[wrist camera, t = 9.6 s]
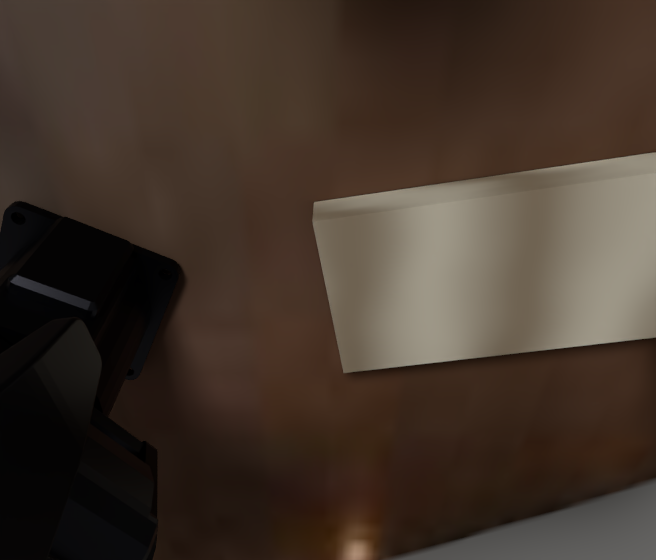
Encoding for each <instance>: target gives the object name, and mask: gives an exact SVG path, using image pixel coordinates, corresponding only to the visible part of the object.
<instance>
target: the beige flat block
mask: <svg viewBox="0 0 656 560" xmlns="http://www.w3.org/2000/svg"><path fill="white" fill-rule="evenodd" d="M312 222H313V227H314V232H315V237H316V242H317V246H318V251H319V256H320V261H321V266H322V271H323V275H324V280H325V285H326V290H327V295H328V300H329V304H330V309H331V314H332V319H333V324H334V329H335V334H336V338H337V343H338V348H339V353H340V358H341V363H342V367H343V372H344V373H349V372H357V371H366V370H375V369H384V368H392V367H401V366H410V365H419V364H427V363H436V362H445V361H454V360H462V359H471V358H480V357H489V356H497V355H506V354H515V353H524V352H533V351H541V350H550V349H559V348H568V347H576V346H585V345H594V344H603V343H611V342H620V341H629V340H638V339H646V338H655V337H656V152H655V153H648V154H641V155H634V156H627V157H620V158H614V159H607V160H600V161H593V162H586V163H579V164H572V165H566V166H559V167H552V168H545V169H538V170H531V171H525V172H518V173H511V174H504V175H497V176H490V177H483V178H477V179H470V180H463V181H456V182H449V183H442V184H436V185H429V186H422V187H415V188H408V189H401V190H394V191H388V192H381V193H374V194H367V195H360V196H353V197H347V198H340V199H333V200H326V201H319V202H314V209H313V220H312Z"/></svg>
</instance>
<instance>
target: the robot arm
mask: <svg viewBox="0 0 656 560" xmlns="http://www.w3.org/2000/svg"><path fill="white" fill-rule="evenodd" d="M16 212H18V213H21V214H22V215H23V216H24V217H25V220H24V219H21V218H19V217H18V216H17V214H16ZM162 269H167V270H169V271H170V272H171V274H170V275H168V274H165V273H163V272H162ZM180 270H181V269H180V266H179V265H178V264H177V262H176V261H174V260H172V259H170V258H167V257H165V256H162V255H160V254H157V253H154V252H152V251H149V250H147V249H144V248H142V247H139V246H136V245H134V244H131V243H130V242H129V241H127V240H124V239H122V238H119V237H117V236H114V235H112V234H109V233H106V232H104V231H101V230H99V229H96V228H94V227H91V226H88V225H86V224H83V223H81V222H78V221H76V220H73V219H70V218H68V217H62V216H59V215H57V214H54V213H52V212H49V211H46V210H44V209H41V208H39V207H36V206H34V205H31V204H28V203H26V202H22V201H17V202H14V203H12V204H11V205H10V206H9V207H8V208H7V209H6V210H5V212H4V216H3V221H2V226H1V232H0V560H152V559H153V555H154V552H155V548H156V540H157V532H158V519H157V449H155V448H154V447H153V446H151V445H150V444H149V443H147V442H146V441H143V442H141V441H139V440H138V439H137V438H135V437H134V436H133V435H131V434H130V433H129V432H127V431H126V430H124V429H123V428H122V427H120V426H119V425H118V424H116V423H115V422H114V421H112V420H111V419H110V418H108V416H109V414H110V411H111V409H112V407H113V405H114V402H115V400H116V398H117V396H118V393H119V391H120V389H121V386H122V384H123V382H124V380H125V379H127V380H134V379H136V378H138V376H139V375H140V372H141V370H142V367H143V365H144V362H145V360H146V357H147V355H148V353H149V350H150V348H151V345H152V343H153V340H154V338H155V335H156V333H157V330H158V328H159V325H160V323H161V320H162V318H163V315H164V313H165V310H166V308H167V305H168V303H169V300H170V298H171V295H172V293H173V290H174V288H175V285H176V283H177V280H178V278H179V275H180ZM129 368H132V369H129Z"/></svg>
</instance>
